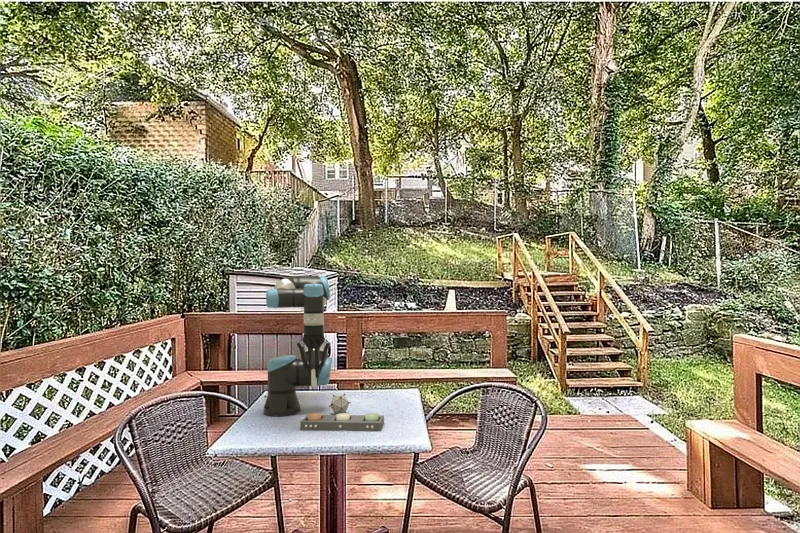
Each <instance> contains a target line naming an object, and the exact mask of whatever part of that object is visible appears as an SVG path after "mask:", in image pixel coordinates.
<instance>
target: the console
mask: <svg viewBox="0 0 800 533" xmlns="http://www.w3.org/2000/svg"><path fill="white" fill-rule="evenodd" d="M365 415H366V414H365ZM365 415H363V414H350V421H336V414H335V415H334V414H321V420H308V414H306V416H305V417H304V418H303V419H302V420H301V421H299V422H300V423H299V429H300V431H335V432H336V431H337V432H338V431H339V432H340V430H341V431H342V430H347V431H348V430H349V432H350V431H351V432H355V431H356V432H381V431H382V429H383V427H384V424H385V415H384V414H383V415H379V414H378V421H365ZM342 432H343V431H342Z"/></svg>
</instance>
